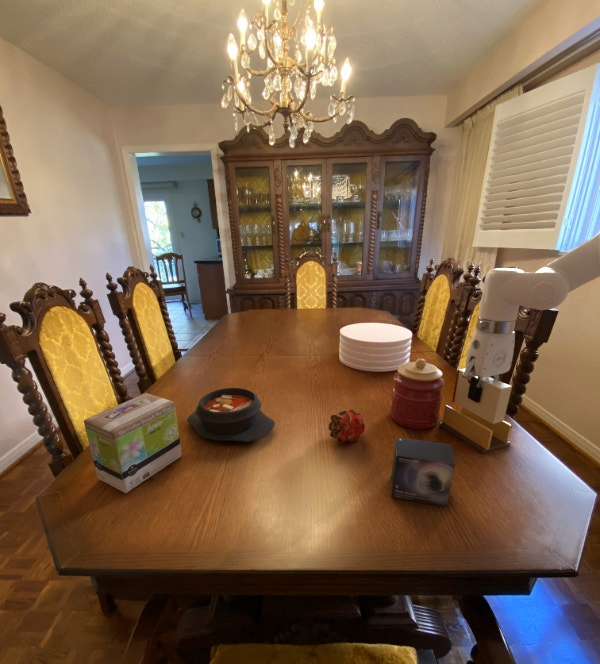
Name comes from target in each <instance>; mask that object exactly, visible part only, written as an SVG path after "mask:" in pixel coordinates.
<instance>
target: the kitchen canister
mask: <svg viewBox="0 0 600 664" xmlns="http://www.w3.org/2000/svg"><path fill="white" fill-rule="evenodd" d="M442 377H443V371H442V370H440V369H439V368H437V366H435V365H434V364H432V363H428V362H427V361H426V360H425V359H424V358H417V359H416V360H415V361H409V362H408V363H405V364H404V365H401V366H400V367H398V370H397V372H396V373H395V374H394V375H393V381H394V385H393V386H392V398H391V405H390V417H391V419H392V420H393V422H395V423H396V424H398V425H400V426H402V427H405V428H407V429H413V430H427V429H432V428H433V427H435V426H436V425H437V424H438V421H439V420H440V415H441V414H440V413H441V412H440V410H441V404H442V398H443V395H444V393H443V390H442V388H444V386H445V384H446V382H445V380H444V379H443V378H442Z"/></svg>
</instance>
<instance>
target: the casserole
mask: <svg viewBox="0 0 600 664" xmlns="http://www.w3.org/2000/svg"><path fill="white" fill-rule="evenodd" d="M261 408H262V402H261V400H260V399H259V398H258V396H257V394H256V393H255V392H254V391H252V390H250V389H247V388H243V387H226V388H219V389H216V390H213V391H211V392H208V393H206V394H205V395H203V396H202V397H201V398H200V400H199V401H198V405H197V406H196V407H195V410H194V411H193V412H191V414H189V416H188V417H187V418H186V420H187V423H188V424H189V425H191V426H192V427H193V428H194V430H195V432H196V433H197V434H198V435H199V436H200V437H203V438H204V439H208V440H213V441H235V442H246V443H249V442H250V443H251V442H254V441H257V440H260V439H262V438H264V437H266V436H267V435H269V434H270V433H271V432H272V431H273V430H274V428H275V425H276V422H275V420H274V419H272V418H270V417H269V416H267V415H266V414H265V413H264V412H263V411H261Z"/></svg>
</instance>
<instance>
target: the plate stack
mask: <svg viewBox="0 0 600 664" xmlns="http://www.w3.org/2000/svg"><path fill="white" fill-rule="evenodd" d="M412 338H413V332H412V331H411V330H410V329H408V328H406V327H403V326H400V325H396V324H391V323H383V322H360V323H359V322H358V323H352V324H348V325H345V326H343V327H341V328H340V329H339V345H338V346H339V350H338V353H339V354H338V360H339V361H340V362H341V363H342V364H343V365H345V366H347V367H349V368H352V369H355V370H360V371H365V372H378V373H381V372H393V371H398V367H400V366H401V365H404V364H405V363H408V362H410V357H411V350H412V349H411V347H412V340H413V339H412Z"/></svg>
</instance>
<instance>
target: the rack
mask: <svg viewBox="0 0 600 664" xmlns="http://www.w3.org/2000/svg"><path fill="white" fill-rule="evenodd" d="M438 426H439V427H441V428H442V429H443V430H445V431H447V432H448V433H449V434H451V435H452V436H454V437H456V438H457V439H459V440H460V441H462V442H463V443H465V444H467V445H468V446H470V447H471V448H472V449H474V450H476V451H477V452H478V453H480V454H482V455H485V454H489V453H491V452H494V451H498V450H500V449H501V450H502V449H505V448H507V447H509V446H511V444H512V443H511V441H510V438H511V437H510V436H511V433H512V430H513V429H512V428H513V424H511V423H510V422H508V421H505V420H504V421H501V422H498V423H494V424H492V423H491V422H489V421H487V420H485V419H483V418H481V417H480V416H478V415H476V414H474V413H472V412H471V411H469V410H467V409H465V408H463V407H462V406H461V409H460V411H459V410H457V409H455V408H454V407H452V406H450V405H449V404H445V405H444V411H443V417H442V421H441V422H439V425H438Z"/></svg>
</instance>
